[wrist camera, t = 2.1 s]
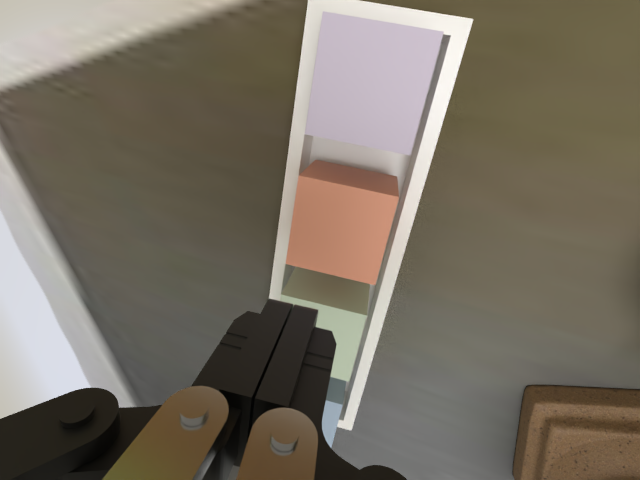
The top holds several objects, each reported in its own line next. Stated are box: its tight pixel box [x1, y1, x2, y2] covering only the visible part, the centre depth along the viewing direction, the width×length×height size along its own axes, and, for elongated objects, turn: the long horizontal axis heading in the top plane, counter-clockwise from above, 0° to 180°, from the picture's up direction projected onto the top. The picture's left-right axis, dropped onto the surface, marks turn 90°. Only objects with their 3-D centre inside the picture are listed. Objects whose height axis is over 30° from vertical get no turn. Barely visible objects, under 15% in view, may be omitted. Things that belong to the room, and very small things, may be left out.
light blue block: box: [322, 377, 346, 447], centre depth 26 cm, size 5×5×4 cm
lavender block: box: [305, 11, 444, 155], centre depth 18 cm, size 5×5×4 cm
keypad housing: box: [269, 0, 473, 430], centre depth 25 cm, size 28×8×4 cm, turn 170°
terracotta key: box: [286, 160, 399, 285], centre depth 21 cm, size 5×5×4 cm
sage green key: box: [280, 267, 370, 382], centre depth 23 cm, size 5×5×4 cm
